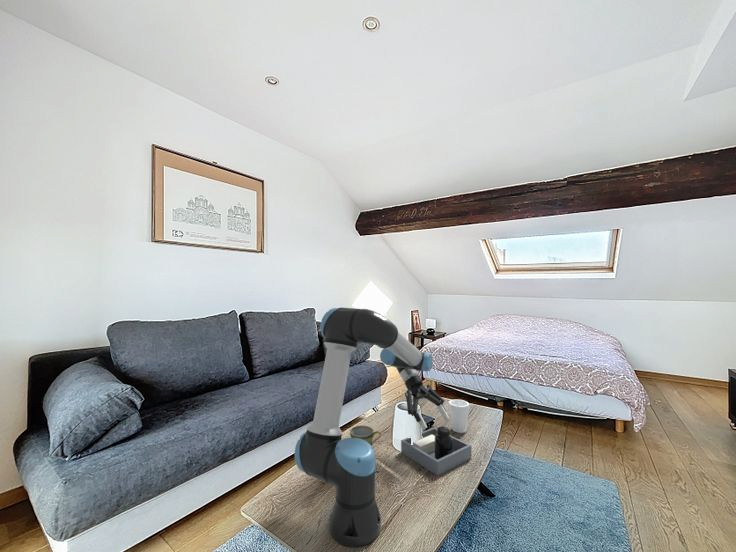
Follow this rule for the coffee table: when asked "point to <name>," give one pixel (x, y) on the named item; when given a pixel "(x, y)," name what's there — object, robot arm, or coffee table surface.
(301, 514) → the coffee table surface
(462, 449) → the tote
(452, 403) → the foam cup
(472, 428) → the coffee table surface
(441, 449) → the supplement bottle
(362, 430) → the ceramic cup
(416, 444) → the cream rectangular block
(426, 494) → the coffee table surface
